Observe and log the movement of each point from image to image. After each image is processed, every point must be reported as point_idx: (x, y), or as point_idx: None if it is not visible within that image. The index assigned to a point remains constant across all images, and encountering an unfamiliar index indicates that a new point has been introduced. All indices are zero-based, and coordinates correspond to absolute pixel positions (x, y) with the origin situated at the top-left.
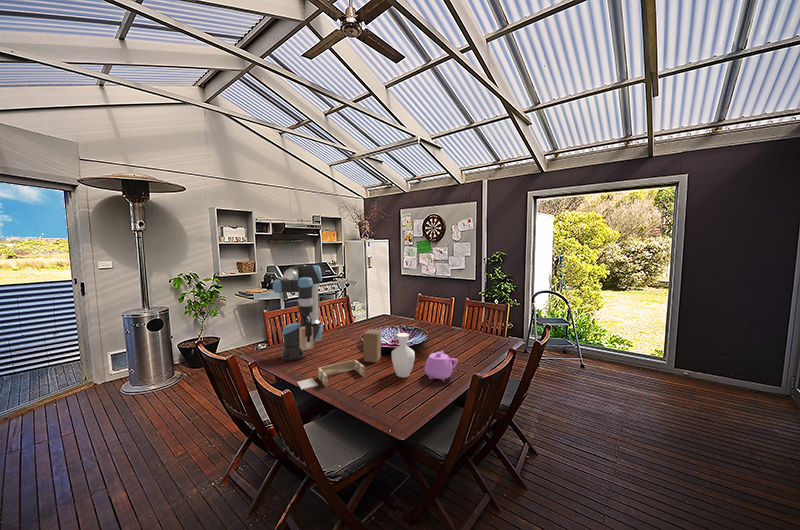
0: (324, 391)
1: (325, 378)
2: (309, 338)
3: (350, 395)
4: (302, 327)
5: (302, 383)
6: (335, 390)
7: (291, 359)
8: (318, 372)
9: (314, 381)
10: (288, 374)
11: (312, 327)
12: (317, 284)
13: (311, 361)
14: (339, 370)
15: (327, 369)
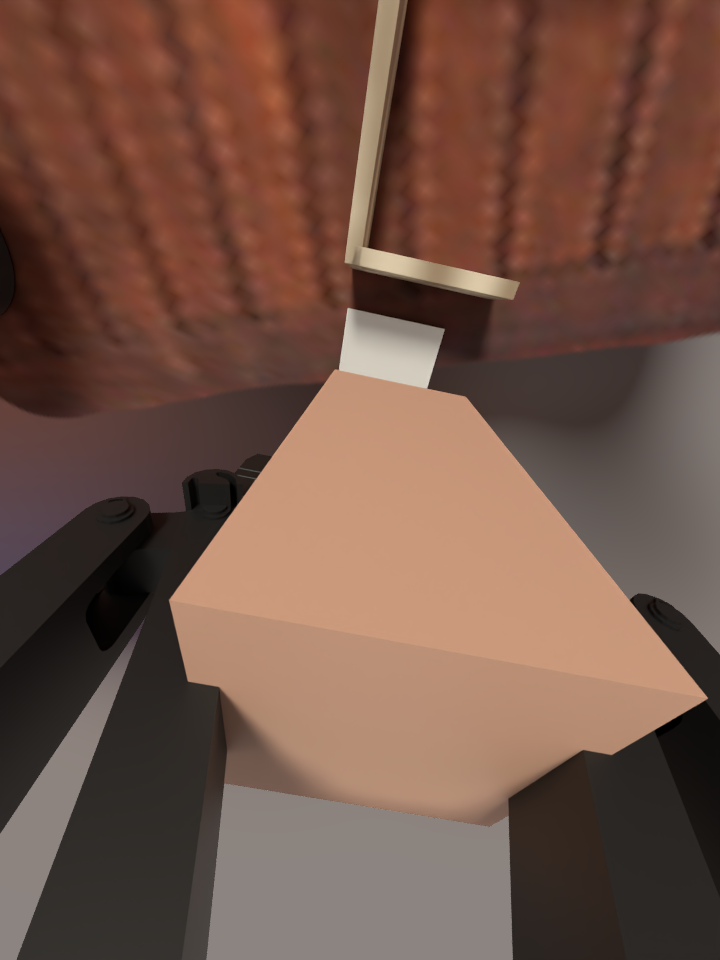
0: (525, 334)
1: (507, 299)
2: None
3: (711, 234)
4: (332, 781)
5: None
6: (575, 276)
7: (5, 278)
8: (361, 268)
9: (395, 322)
10: (216, 382)
11: (655, 694)
12: None
13: (59, 146)
14: (398, 40)
15: (375, 179)
